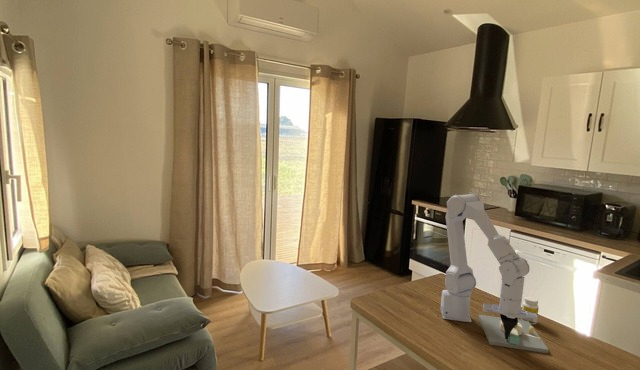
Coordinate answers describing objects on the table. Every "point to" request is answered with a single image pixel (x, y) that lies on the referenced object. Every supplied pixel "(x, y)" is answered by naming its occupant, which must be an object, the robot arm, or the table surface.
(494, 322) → the post board
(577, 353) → the table surface
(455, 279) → the robot arm
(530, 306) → the supplement bottle
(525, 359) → the table surface
